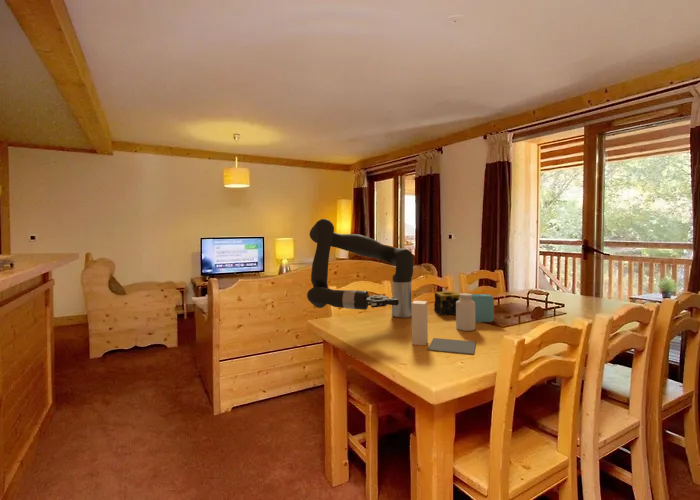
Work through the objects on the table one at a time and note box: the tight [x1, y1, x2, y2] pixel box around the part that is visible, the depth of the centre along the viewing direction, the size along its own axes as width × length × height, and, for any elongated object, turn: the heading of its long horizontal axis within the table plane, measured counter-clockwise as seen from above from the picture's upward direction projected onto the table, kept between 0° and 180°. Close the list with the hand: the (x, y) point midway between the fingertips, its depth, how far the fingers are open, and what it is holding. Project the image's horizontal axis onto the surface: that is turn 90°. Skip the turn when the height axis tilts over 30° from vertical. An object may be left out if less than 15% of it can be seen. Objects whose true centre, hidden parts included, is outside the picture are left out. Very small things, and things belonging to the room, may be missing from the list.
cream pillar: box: [411, 300, 429, 347], centre depth 146 cm, size 5×5×16 cm
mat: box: [427, 337, 477, 355], centre depth 142 cm, size 16×14×1 cm
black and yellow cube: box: [433, 290, 460, 316], centre depth 193 cm, size 10×10×10 cm
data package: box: [471, 293, 495, 323], centre depth 177 cm, size 12×4×12 cm, turn 81°
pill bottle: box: [455, 292, 476, 332], centre depth 164 cm, size 8×8×15 cm
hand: (398, 302), depth 149 cm, fingers closed
